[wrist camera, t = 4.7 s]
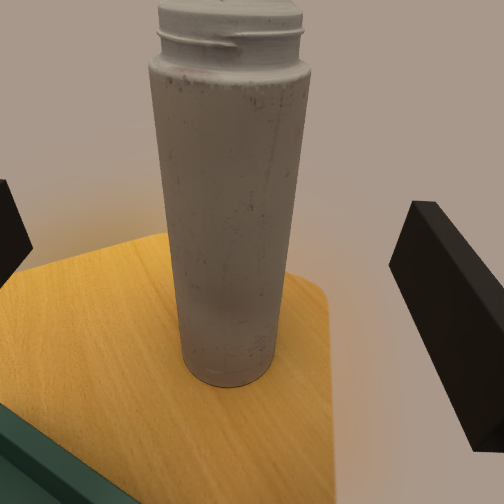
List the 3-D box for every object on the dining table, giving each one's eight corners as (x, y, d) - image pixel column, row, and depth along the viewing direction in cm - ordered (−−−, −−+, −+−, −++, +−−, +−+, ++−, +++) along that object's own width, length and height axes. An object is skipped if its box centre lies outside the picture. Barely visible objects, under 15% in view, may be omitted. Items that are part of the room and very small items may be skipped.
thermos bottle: (204, 304, 35) (184, -85, 18) (283, 324, 34) (343, -82, 17) (165, 371, 29) (79, -119, 12) (260, 400, 28) (315, -120, 10)
